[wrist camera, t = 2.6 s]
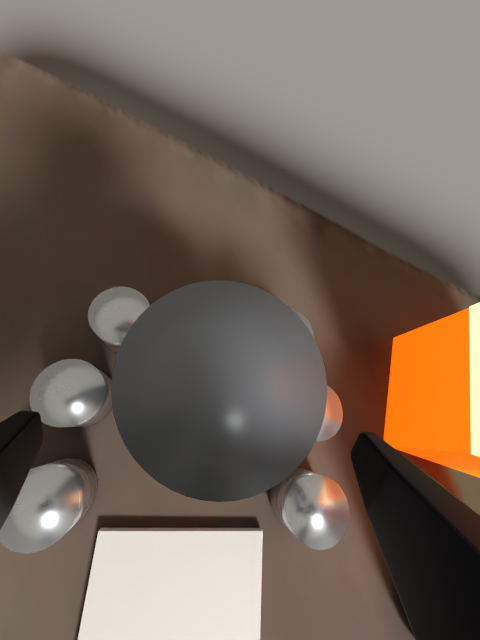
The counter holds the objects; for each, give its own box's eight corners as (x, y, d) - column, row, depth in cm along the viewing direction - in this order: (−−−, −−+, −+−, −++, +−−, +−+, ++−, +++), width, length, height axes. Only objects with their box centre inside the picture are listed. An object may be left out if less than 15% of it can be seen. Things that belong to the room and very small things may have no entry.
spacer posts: (321, 527, 16) (351, 549, 13) (21, 527, 13) (-20, 554, 11) (314, 330, 20) (336, 315, 17) (82, 301, 17) (64, 278, 15)
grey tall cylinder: (236, 454, 16) (332, 503, 6) (145, 450, 16) (85, 499, 5) (241, 366, 18) (322, 294, 8) (159, 358, 17) (134, 266, 7)
